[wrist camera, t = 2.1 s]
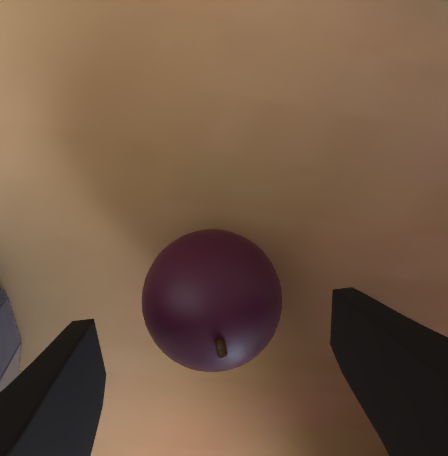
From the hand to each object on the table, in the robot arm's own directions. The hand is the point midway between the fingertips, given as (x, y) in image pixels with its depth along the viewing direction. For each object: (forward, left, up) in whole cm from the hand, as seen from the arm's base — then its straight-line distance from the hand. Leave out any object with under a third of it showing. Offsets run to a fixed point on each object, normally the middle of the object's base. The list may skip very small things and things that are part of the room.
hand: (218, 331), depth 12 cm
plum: (0, 0, -5) cm, 5 cm away
